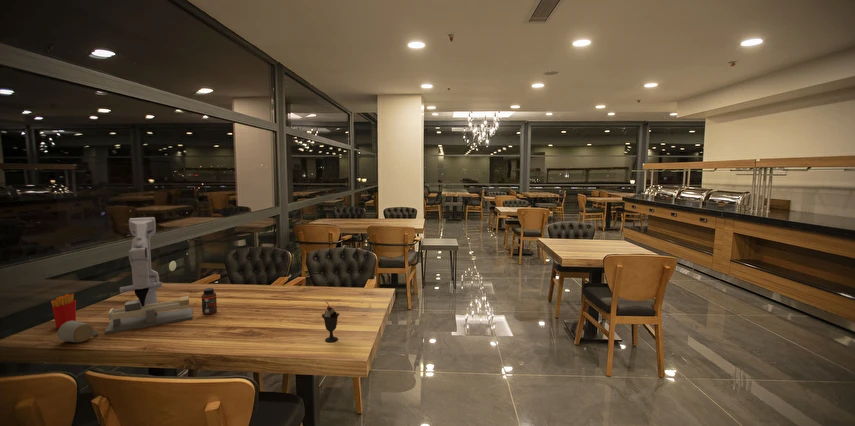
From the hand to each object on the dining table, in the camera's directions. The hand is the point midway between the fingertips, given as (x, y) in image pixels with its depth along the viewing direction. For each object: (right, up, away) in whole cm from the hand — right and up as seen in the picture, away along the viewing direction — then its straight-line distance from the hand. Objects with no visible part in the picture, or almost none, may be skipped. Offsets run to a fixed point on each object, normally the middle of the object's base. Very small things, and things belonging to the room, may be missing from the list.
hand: (143, 305), depth 162 cm
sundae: (+86, -9, -17) cm, 89 cm away
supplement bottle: (+22, -6, +12) cm, 26 cm away
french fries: (-31, -8, -2) cm, 32 cm away
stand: (+2, -7, +2) cm, 8 cm away
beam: (+2, -4, +2) cm, 5 cm away
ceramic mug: (-12, -9, -16) cm, 22 cm away
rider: (-3, -2, -2) cm, 4 cm away
